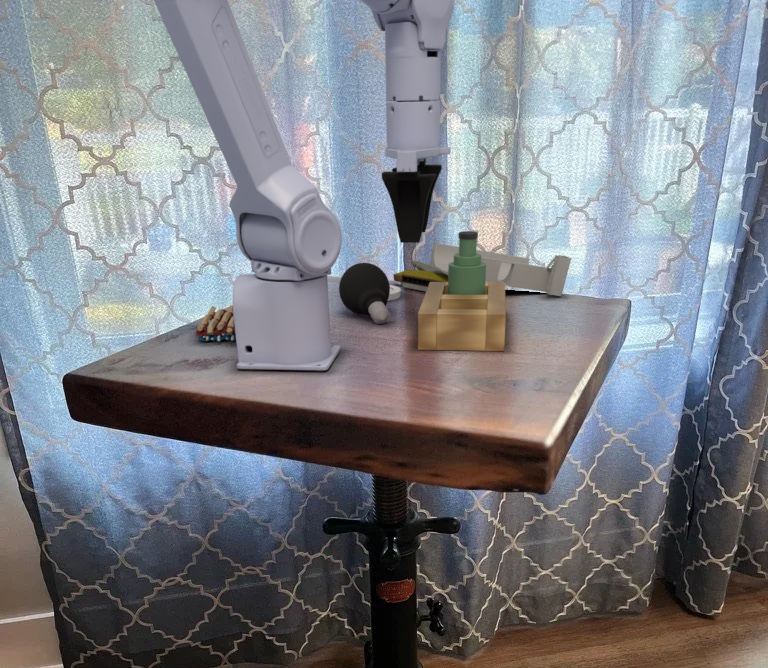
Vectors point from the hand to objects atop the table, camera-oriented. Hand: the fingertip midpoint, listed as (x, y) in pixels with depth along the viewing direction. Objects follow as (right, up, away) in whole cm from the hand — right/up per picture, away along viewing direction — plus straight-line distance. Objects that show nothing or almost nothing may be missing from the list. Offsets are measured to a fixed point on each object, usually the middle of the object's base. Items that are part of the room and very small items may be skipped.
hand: (413, 237), depth 89 cm
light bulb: (-5, -7, +10) cm, 13 cm away
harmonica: (+4, +2, +22) cm, 22 cm away
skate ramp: (+12, +1, +21) cm, 24 cm away
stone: (+2, +5, +30) cm, 31 cm away
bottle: (+7, -8, +6) cm, 12 cm away
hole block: (+6, -10, +3) cm, 12 cm away
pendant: (-6, +1, +22) cm, 22 cm away
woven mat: (-20, -7, +4) cm, 22 cm away
